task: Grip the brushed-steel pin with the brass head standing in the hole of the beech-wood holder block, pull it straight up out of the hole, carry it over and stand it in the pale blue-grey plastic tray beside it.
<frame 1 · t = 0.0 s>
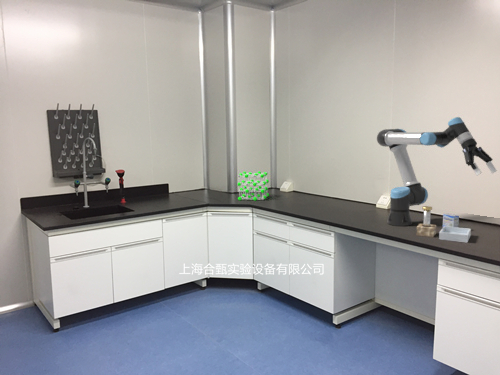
hand: (486, 173, 221), 36 cm above the counter, tool tilted 35°, fingers open, 13 cm apart
tray: (454, 237, 226), on the counter
holder block: (426, 234, 235), on the counter
molecular structure model: (253, 198, 373), on the counter
medicine box: (450, 229, 246), on the counter
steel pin: (426, 220, 233), in the holder block
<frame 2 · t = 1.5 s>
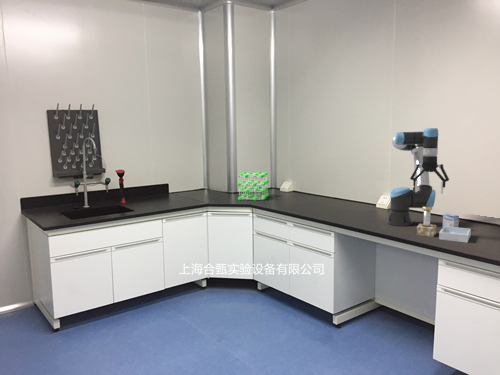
hand: (428, 192, 231), 25 cm above the counter, tool pointing down, fingers open, 13 cm apart
nothing on the counter moved.
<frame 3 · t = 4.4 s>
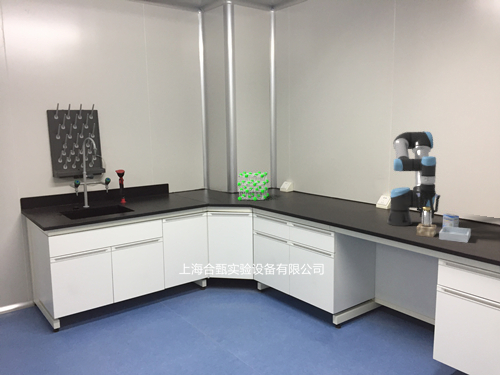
hand: (426, 223, 234), 7 cm above the counter, tool pointing down, fingers closed on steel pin, 3 cm apart
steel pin: (426, 220, 233), in the holder block, touching gripper
everything else where it was.
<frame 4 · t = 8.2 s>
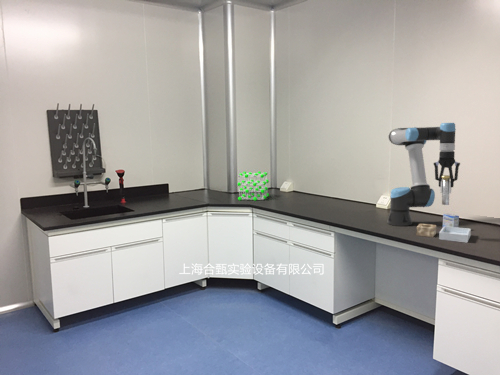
hand: (445, 192, 225), 25 cm above the counter, tool pointing down, fingers closed on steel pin, 3 cm apart
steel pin: (445, 190, 225), point 27 cm above the counter, touching gripper
everything else where it was.
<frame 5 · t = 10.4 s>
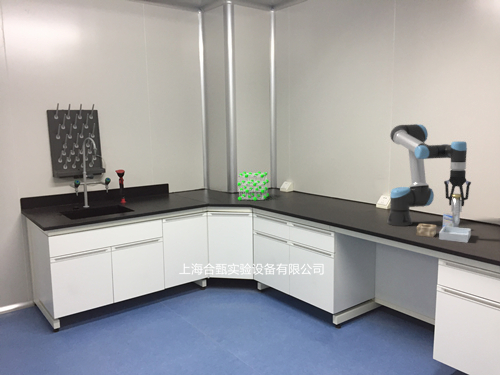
hand: (456, 211, 224), 15 cm above the counter, tool pointing down, fingers closed on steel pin, 3 cm apart
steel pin: (456, 208, 224), point 16 cm above the counter, touching gripper
everything else where it was.
when the fingers open (9 cm above the counter, at t = 12.2 s): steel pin drops 1 cm, resting on tray.
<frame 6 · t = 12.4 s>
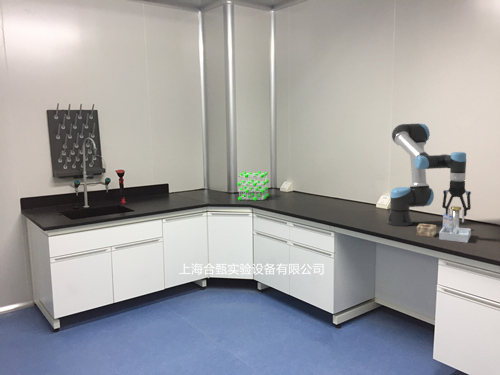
hand: (455, 221, 225), 9 cm above the counter, tool pointing down, fingers open, 7 cm apart
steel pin: (455, 221, 225), in the tray, point 9 cm above the counter
everything else where it was.
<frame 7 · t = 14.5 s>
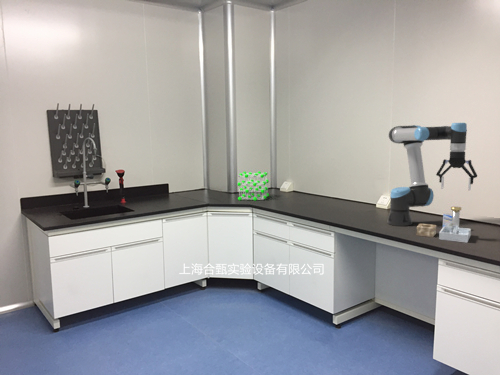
hand: (455, 189, 224), 27 cm above the counter, tool pointing down, fingers open, 13 cm apart
nothing on the counter moved.
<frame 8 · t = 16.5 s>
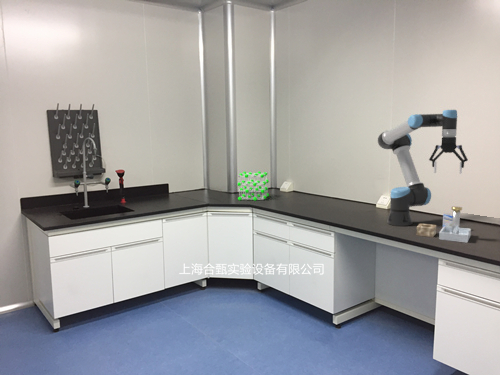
hand: (447, 173, 237), 35 cm above the counter, tool pointing down, fingers open, 13 cm apart
nothing on the counter moved.
at the end: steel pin inside the target area on the tray (0.0 cm from its centre), point 9.1 cm above the tray's base; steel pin touching tray; the gripper is holding nothing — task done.
